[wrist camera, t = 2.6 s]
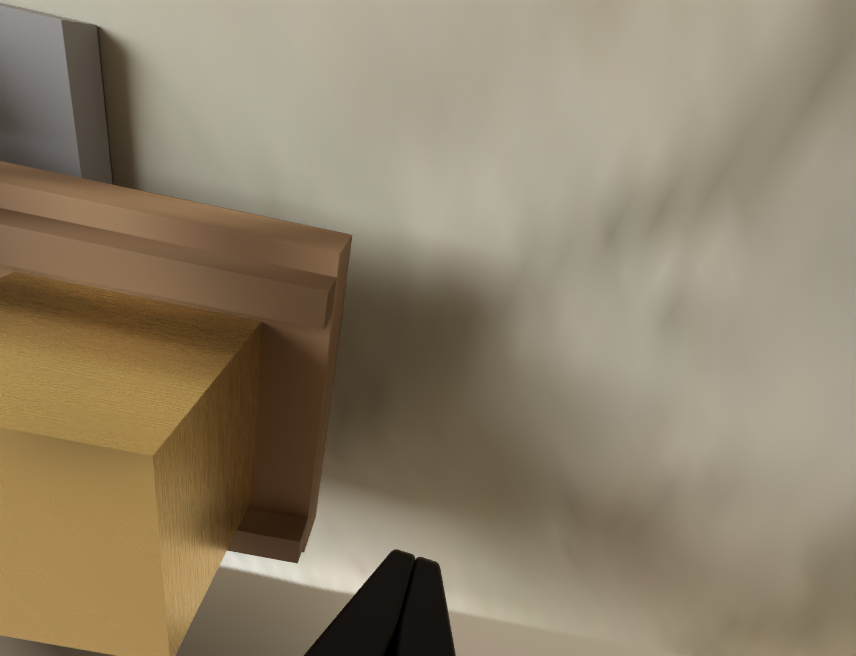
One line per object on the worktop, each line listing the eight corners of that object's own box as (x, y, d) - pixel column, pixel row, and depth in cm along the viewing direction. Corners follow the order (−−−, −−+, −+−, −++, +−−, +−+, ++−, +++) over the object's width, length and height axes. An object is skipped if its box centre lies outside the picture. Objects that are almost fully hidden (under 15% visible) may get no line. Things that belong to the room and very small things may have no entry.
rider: (261, 321, 10) (152, 456, 6) (254, 494, 12) (170, 664, 9) (14, 271, 10) (-238, 381, 6) (53, 457, 12) (-115, 615, 9)
